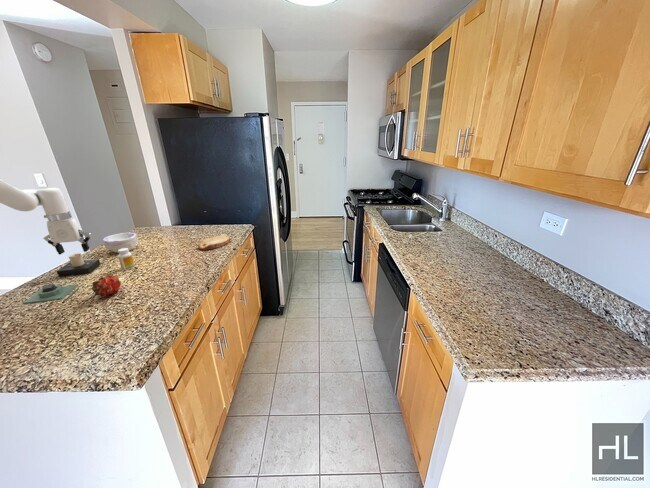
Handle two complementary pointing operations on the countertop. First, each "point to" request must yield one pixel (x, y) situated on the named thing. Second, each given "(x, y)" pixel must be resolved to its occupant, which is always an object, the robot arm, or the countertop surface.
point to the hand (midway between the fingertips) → (74, 252)
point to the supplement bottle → (125, 259)
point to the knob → (76, 260)
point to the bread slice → (214, 242)
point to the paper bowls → (120, 241)
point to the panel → (79, 268)
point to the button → (49, 288)
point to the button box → (52, 294)
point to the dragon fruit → (106, 285)
